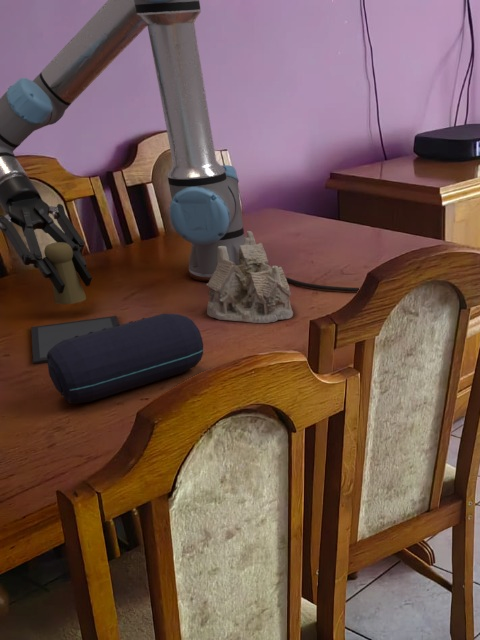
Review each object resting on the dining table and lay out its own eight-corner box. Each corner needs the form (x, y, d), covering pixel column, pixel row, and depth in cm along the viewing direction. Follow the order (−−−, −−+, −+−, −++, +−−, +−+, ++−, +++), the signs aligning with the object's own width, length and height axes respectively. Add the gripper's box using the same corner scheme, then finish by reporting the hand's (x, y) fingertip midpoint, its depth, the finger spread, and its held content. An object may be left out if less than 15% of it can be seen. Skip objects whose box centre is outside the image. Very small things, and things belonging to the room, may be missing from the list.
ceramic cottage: (202, 306, 172) (194, 231, 164) (279, 298, 178) (275, 225, 169) (219, 334, 161) (212, 255, 152) (301, 324, 166) (298, 248, 158)
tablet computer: (116, 318, 168) (115, 315, 168) (126, 350, 152) (126, 347, 152) (31, 329, 163) (31, 326, 163) (33, 364, 148) (32, 361, 147)
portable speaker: (183, 358, 149) (173, 302, 143) (213, 373, 143) (204, 315, 137) (46, 399, 135) (29, 339, 129) (73, 418, 128) (57, 355, 123)
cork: (59, 295, 171) (44, 240, 165) (89, 294, 171) (76, 238, 165) (51, 305, 166) (36, 248, 160) (82, 303, 166) (68, 246, 160)
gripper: (52, 192, 174) (112, 285, 173) (-35, 208, 163) (29, 308, 162) (58, 167, 168) (120, 263, 167) (-32, 182, 157) (35, 285, 156)
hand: (75, 285), depth 165 cm, fingers closed on cork, 5 cm apart
